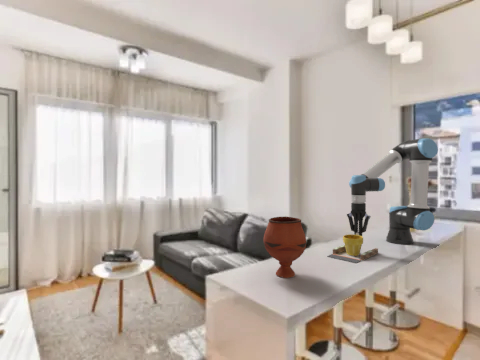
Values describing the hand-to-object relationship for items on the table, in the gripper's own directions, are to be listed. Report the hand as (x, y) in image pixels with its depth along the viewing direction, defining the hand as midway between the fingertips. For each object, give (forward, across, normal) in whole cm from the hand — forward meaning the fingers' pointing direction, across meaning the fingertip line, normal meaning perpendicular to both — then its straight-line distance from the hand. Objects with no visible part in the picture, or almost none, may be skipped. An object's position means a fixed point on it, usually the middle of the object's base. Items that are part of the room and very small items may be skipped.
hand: (358, 243), depth 165 cm
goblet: (+4, -7, -58) cm, 59 cm away
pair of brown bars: (+5, 0, -4) cm, 6 cm away
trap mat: (+4, 0, -18) cm, 18 cm away
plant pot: (+5, 0, -6) cm, 8 cm away
